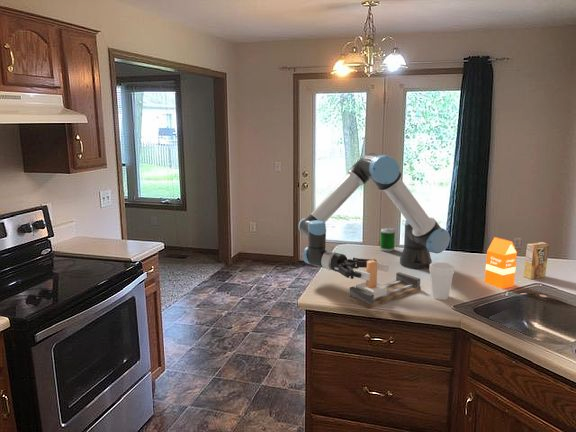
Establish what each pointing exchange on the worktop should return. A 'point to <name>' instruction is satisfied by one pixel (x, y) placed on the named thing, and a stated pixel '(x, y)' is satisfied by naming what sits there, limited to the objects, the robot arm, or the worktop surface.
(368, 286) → the carriage
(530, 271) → the candy box
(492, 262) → the orange juice
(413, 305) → the worktop surface
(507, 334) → the worktop surface
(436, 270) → the foam cup
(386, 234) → the soda can
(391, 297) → the rail
